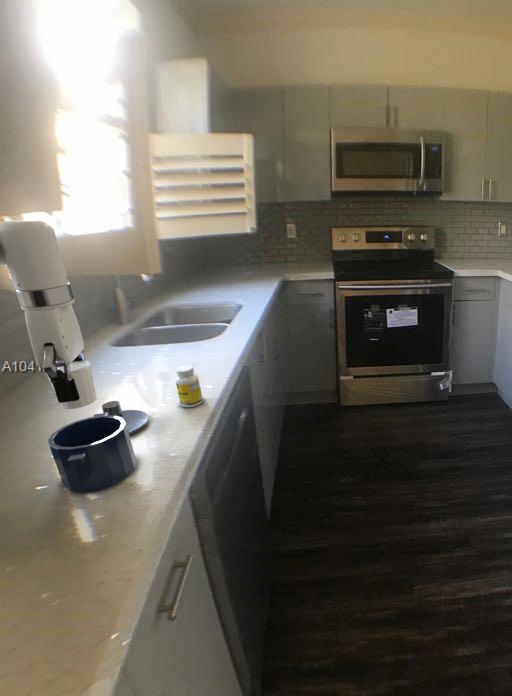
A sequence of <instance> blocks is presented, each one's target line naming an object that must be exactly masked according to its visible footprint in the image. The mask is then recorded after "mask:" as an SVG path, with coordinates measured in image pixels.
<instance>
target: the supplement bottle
mask: <svg viewBox="0 0 512 696" xmlns="http://www.w3.org/2000/svg"><path fill="white" fill-rule="evenodd" d="M175 370H176V375H177V376H176V378H175V386H176V390H177V394H178V399H179V404H180V406H181V407H184V408H192V407H193V408H194V407H197V406H199V405H200V404H202V402H203V401H204V400H203V394H202V389H201V385H200V379H199V375H197V373H195V369H194V366H192V365H182V366H179V367H177V368H176V369H175Z"/></svg>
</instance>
